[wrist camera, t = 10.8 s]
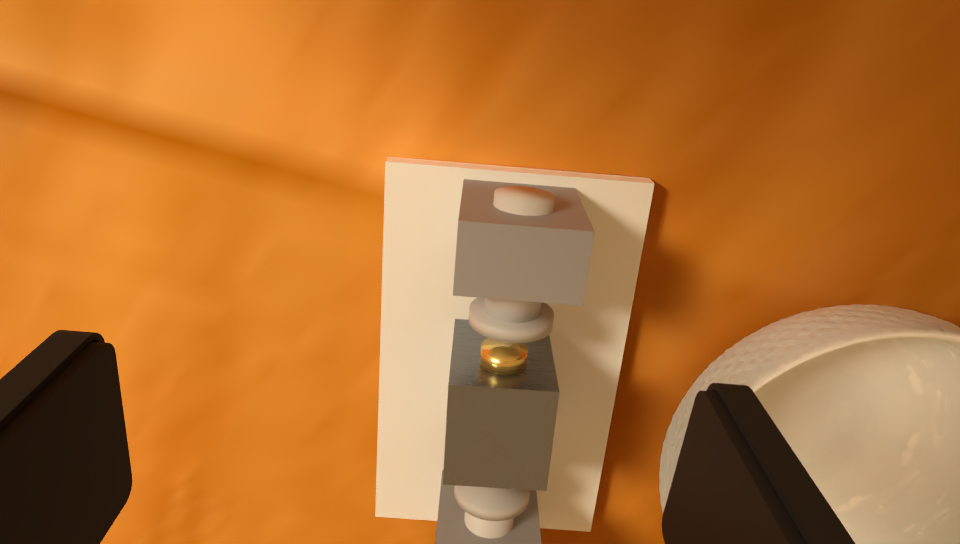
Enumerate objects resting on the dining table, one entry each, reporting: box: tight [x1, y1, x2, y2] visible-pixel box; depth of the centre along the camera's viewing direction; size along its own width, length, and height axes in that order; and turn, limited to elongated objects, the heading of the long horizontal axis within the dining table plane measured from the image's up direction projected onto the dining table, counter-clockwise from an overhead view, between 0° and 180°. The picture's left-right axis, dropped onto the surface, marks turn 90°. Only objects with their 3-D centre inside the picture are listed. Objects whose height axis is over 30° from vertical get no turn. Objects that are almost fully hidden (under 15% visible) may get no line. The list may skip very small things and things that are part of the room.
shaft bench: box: [375, 157, 655, 544], centre depth 32 cm, size 12×20×7 cm, turn 175°
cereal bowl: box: [659, 304, 960, 544], centre depth 33 cm, size 17×17×7 cm
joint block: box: [443, 319, 559, 491], centre depth 31 cm, size 7×4×6 cm
